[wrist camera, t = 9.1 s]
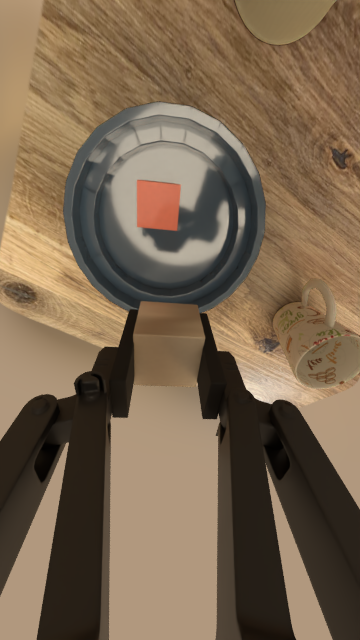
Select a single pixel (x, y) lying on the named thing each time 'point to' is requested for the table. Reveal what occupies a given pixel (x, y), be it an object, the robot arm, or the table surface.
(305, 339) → the mug
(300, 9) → the can
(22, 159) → the table surface
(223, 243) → the bowl
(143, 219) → the coral block
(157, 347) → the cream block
